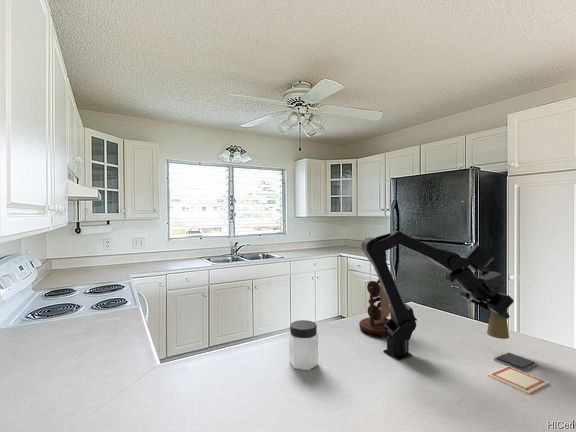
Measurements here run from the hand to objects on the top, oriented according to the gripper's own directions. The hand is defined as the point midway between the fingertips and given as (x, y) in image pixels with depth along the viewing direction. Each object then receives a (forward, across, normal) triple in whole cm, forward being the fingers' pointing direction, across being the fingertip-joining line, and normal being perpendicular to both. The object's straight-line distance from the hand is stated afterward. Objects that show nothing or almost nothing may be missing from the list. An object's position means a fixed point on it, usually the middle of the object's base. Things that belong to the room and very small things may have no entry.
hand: (502, 314), depth 101 cm
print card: (+3, -16, +14) cm, 22 cm away
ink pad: (+8, -7, +9) cm, 14 cm away
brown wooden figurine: (-15, +20, +33) cm, 42 cm away
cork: (+4, 0, +6) cm, 7 cm away
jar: (-37, -5, +56) cm, 67 cm away
